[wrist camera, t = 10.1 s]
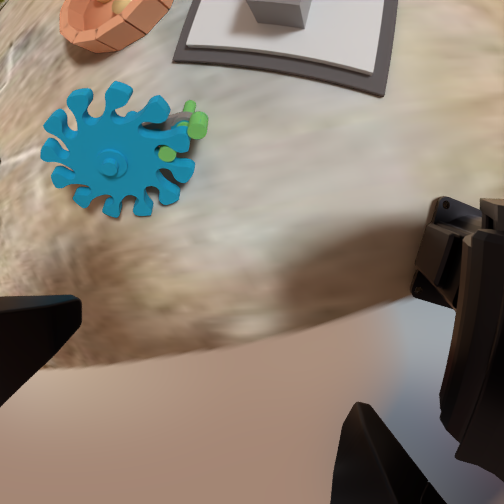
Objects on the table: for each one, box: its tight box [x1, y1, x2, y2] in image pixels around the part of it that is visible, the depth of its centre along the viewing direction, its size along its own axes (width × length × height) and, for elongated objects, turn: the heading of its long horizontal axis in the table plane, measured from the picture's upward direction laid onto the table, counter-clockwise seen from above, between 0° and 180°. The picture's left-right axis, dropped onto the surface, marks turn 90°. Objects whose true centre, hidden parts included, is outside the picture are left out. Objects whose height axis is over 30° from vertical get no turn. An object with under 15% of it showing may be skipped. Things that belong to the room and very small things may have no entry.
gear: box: [41, 81, 208, 218], centre depth 18 cm, size 11×6×10 cm
